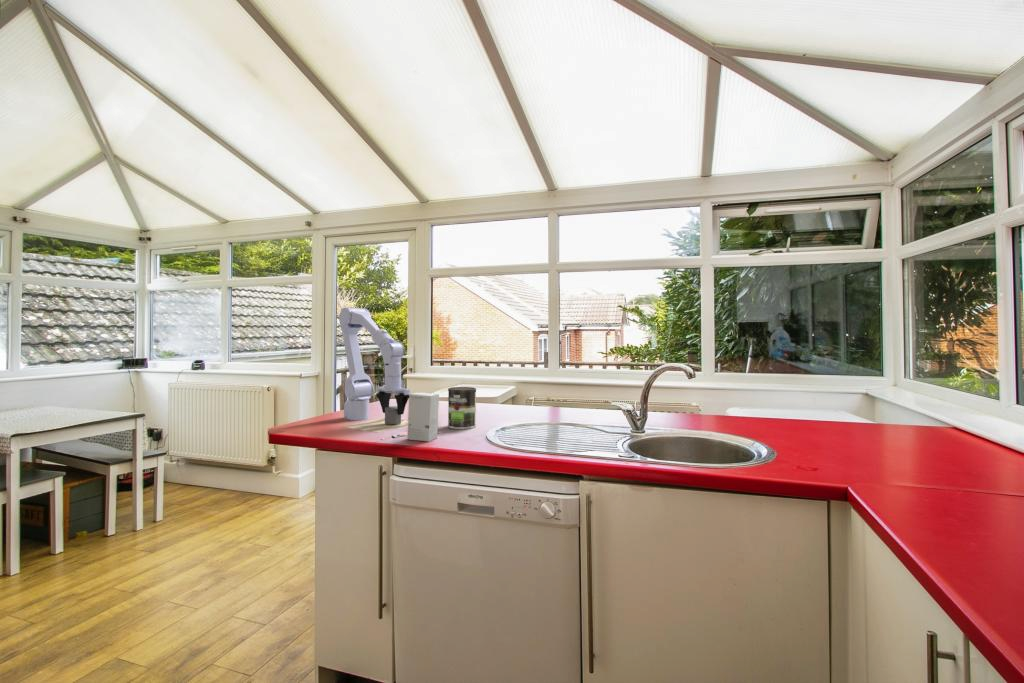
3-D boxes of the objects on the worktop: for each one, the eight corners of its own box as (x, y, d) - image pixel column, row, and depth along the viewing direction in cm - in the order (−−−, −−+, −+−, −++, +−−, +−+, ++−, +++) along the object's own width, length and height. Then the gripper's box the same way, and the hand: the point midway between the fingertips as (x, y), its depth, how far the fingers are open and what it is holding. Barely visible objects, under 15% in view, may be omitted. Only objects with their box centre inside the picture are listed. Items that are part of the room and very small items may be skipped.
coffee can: (469, 430, 168) (469, 390, 168) (443, 428, 171) (443, 389, 171) (480, 424, 178) (480, 387, 178) (454, 423, 181) (454, 386, 181)
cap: (381, 423, 170) (381, 407, 170) (392, 420, 175) (392, 405, 174) (392, 424, 167) (393, 409, 167) (404, 422, 172) (404, 407, 172)
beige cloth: (341, 430, 166) (341, 426, 166) (386, 421, 184) (386, 417, 184) (376, 436, 157) (376, 432, 157) (420, 426, 174) (420, 422, 174)
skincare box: (407, 440, 152) (407, 393, 152) (417, 436, 158) (417, 391, 158) (430, 442, 150) (430, 395, 149) (439, 438, 155) (439, 392, 155)
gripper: (370, 375, 171) (370, 413, 171) (399, 377, 163) (399, 416, 163) (385, 374, 177) (385, 410, 177) (413, 376, 169) (414, 414, 169)
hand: (393, 413), depth 171 cm, fingers open, 7 cm apart
